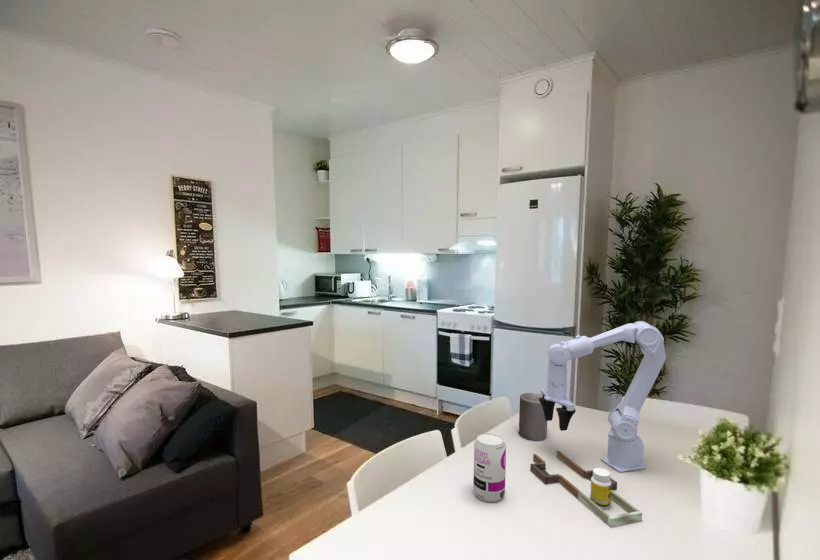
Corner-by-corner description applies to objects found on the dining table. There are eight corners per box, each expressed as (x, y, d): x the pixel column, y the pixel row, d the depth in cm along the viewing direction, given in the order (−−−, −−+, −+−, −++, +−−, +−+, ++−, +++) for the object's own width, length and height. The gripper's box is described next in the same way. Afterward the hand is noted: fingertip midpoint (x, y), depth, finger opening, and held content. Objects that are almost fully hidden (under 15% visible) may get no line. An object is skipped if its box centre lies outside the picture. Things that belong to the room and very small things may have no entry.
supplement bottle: (611, 511, 101) (613, 478, 100) (591, 507, 102) (592, 475, 102) (609, 500, 105) (610, 468, 105) (589, 496, 107) (590, 465, 106)
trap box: (569, 455, 129) (570, 449, 129) (655, 518, 98) (656, 510, 98) (520, 462, 125) (521, 455, 125) (595, 530, 94) (595, 522, 94)
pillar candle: (512, 432, 146) (513, 391, 145) (532, 427, 150) (533, 387, 149) (533, 443, 137) (534, 400, 136) (553, 437, 142) (554, 395, 141)
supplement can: (506, 488, 110) (507, 434, 109) (502, 506, 102) (504, 448, 102) (476, 483, 113) (477, 430, 112) (470, 499, 105) (471, 443, 104)
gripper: (533, 377, 134) (532, 417, 134) (560, 391, 120) (559, 436, 120) (551, 375, 136) (550, 415, 136) (580, 389, 122) (579, 433, 122)
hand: (555, 425), depth 129 cm, fingers open, 7 cm apart
